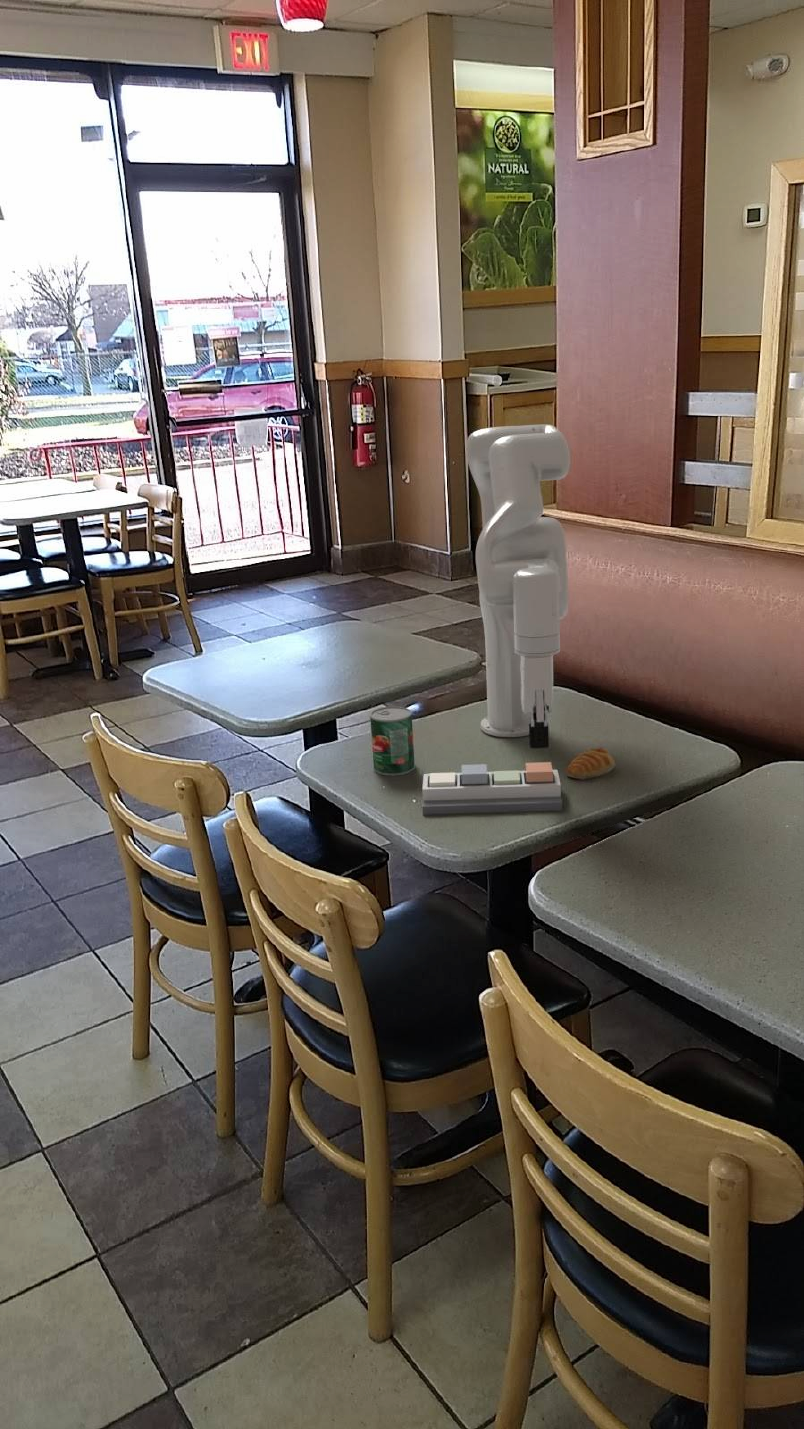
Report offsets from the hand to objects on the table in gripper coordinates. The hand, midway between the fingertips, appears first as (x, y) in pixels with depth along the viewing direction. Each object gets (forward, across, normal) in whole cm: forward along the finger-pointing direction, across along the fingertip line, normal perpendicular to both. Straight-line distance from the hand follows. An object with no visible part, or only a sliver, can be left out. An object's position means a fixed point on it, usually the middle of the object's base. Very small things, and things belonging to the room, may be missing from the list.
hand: (539, 746), depth 189 cm
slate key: (+6, -1, -11) cm, 13 cm away
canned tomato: (+10, -17, -26) cm, 33 cm away
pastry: (+10, -12, +10) cm, 18 cm away
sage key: (+7, -1, -6) cm, 9 cm away
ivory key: (+7, -1, -17) cm, 18 cm away
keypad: (+10, -1, -8) cm, 13 cm away
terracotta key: (+6, -1, 0) cm, 6 cm away
